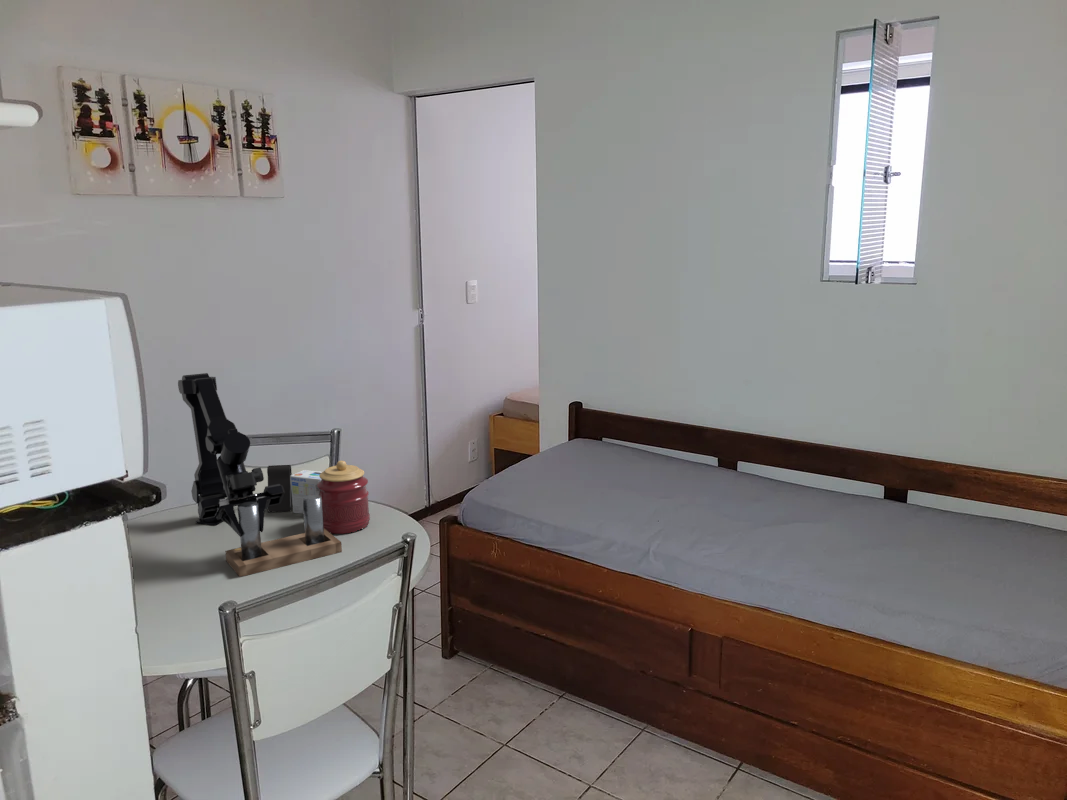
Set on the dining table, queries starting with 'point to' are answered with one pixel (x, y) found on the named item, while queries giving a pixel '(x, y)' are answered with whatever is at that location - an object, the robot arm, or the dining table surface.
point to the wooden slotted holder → (282, 553)
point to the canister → (344, 498)
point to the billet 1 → (249, 530)
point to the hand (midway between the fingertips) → (251, 533)
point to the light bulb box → (303, 487)
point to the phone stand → (282, 477)
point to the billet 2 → (313, 519)
